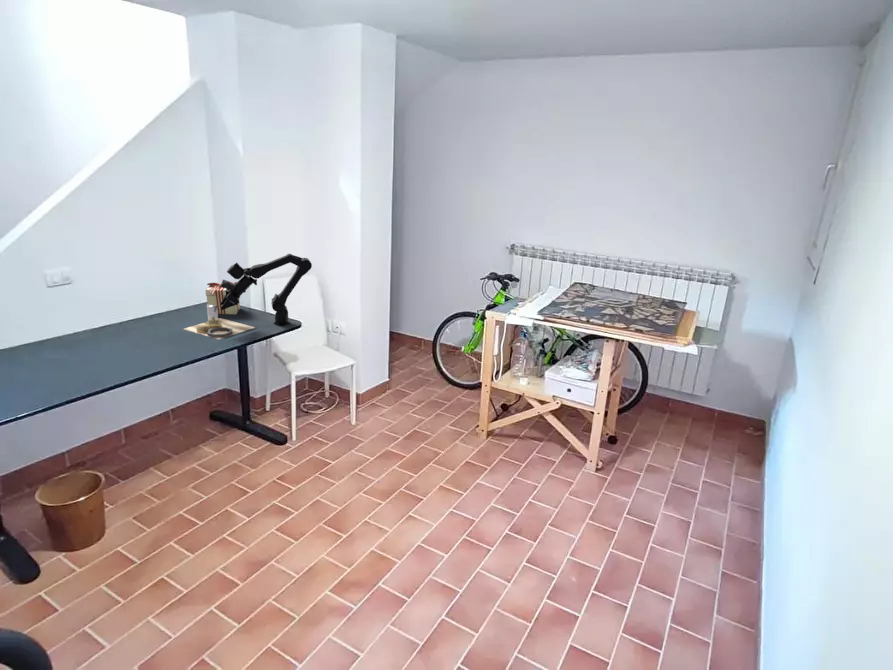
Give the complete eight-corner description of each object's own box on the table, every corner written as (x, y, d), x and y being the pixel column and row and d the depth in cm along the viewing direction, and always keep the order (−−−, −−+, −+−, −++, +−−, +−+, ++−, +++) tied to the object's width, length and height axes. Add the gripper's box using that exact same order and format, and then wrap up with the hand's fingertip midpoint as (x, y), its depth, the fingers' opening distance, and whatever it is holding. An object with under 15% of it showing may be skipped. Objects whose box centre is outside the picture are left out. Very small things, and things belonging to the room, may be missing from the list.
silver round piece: (214, 322, 292) (212, 302, 288) (224, 325, 288) (223, 305, 285) (202, 326, 285) (200, 305, 282) (212, 329, 282) (210, 308, 278)
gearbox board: (220, 319, 300) (220, 313, 299) (255, 329, 288) (254, 322, 287) (183, 330, 281) (182, 324, 279) (218, 341, 269) (218, 334, 268)
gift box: (206, 318, 301) (203, 287, 295) (211, 308, 318) (208, 279, 312) (240, 317, 305) (237, 287, 300) (243, 307, 322) (240, 278, 316)
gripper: (229, 270, 290) (208, 291, 289) (230, 279, 273) (207, 301, 273) (246, 284, 295) (225, 305, 295) (248, 293, 279) (226, 316, 278)
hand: (221, 306), depth 285 cm, fingers open, 9 cm apart
